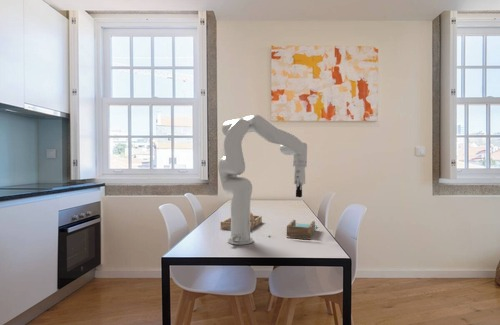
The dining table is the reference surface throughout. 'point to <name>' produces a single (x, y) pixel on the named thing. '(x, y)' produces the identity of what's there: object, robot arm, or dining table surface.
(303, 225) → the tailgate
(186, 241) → the dining table surface
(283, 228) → the dining table surface
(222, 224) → the vegetable crate
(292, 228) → the box
